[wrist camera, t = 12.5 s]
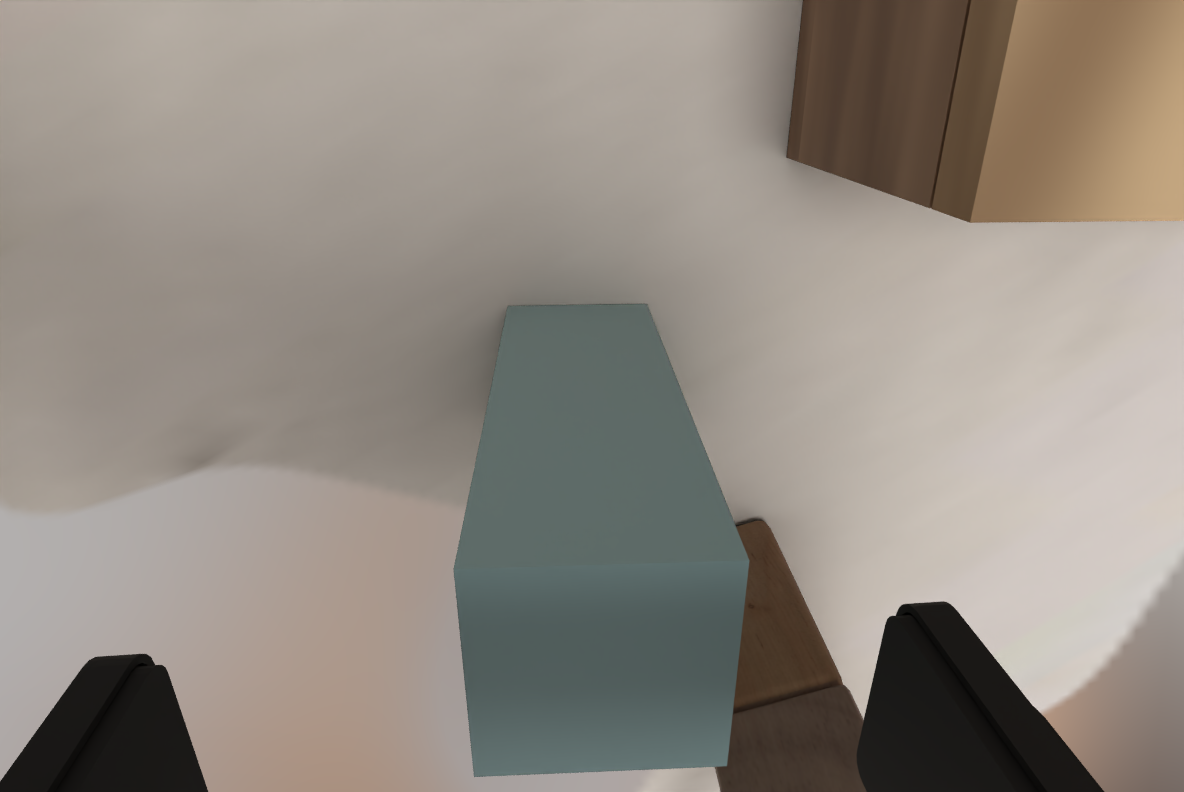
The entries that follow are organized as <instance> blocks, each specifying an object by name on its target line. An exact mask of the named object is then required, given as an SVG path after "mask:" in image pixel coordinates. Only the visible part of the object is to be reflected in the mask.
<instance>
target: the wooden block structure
mask: <svg viewBox="0 0 1184 792" xmlns="http://www.w3.org/2000/svg"><path fill="white" fill-rule="evenodd" d="M736 528H737V531H738V533H739V536H740V538H741V541H742V543H743V546H744V548H745V551H746V553H747V556H748V558H749V568H748V578H747V587H746V596H745V605H744V614H743V624H742V633H741V642H740V651H739V660H738V669H737V679H736V688H735V697H734V706H733V715H732V725H731V734H730V743H729V752H728V761H727V766H720V767H715V769H716V774H717V778H718V782H719V787H720V791H721V792H867V791H866V789H865V787H864V785H863V783H862V780H861V778H860V775H859V771H858V766H857V756H856V755H857V748H858V744H859V739H860V735H861V730H862V726H863V722H864V720H863V718H862V716H861V714H860V712H859V709H858V707H857V705H856V703H855V701H854V699H853V697H852V695H851V693H850V691H849V690H848V689H847V688H846V686H845V685H843V683H842V679H841V676H840V674H839V672H838V670H837V668H836V666H835V663H834V661H833V659H832V657H831V655H830V653H829V651H828V649H827V647H826V645H825V642H824V640H823V638H822V636H821V634H820V632H819V630H818V628H817V626H816V623H815V621H814V619H813V617H812V615H811V613H810V611H809V609H808V607H807V605H806V602H805V600H804V598H803V596H802V594H801V592H800V590H799V588H798V586H797V583H796V581H795V579H794V577H793V575H792V573H791V571H790V569H789V567H788V564H787V562H786V560H785V558H784V556H783V554H782V552H781V550H780V548H779V546H778V543H777V541H776V539H775V537H774V535H773V533H772V531H771V529H770V527H769V526H768V525H767V524H766V523H765V522H764V521H753V522H750V523H746V524H743V525H740V526H736Z"/></svg>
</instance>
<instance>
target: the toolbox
mask: <svg viewBox="0 0 1184 792" xmlns="http://www.w3.org/2000/svg"><path fill="white" fill-rule="evenodd" d="M970 4H971V0H803V7H802V17H801V26H800V36H799V45H798V54H797V64H796V73H795V83H794V92H793V102H792V111H791V121H790V130H789V140H788V149H787V158H789V159H792V160H795V161H798V162H801V163H803V164H806V165H809V166H812V167H815V168H818V169H820V170H823V171H826V172H829V173H832V174H834V175H837V176H840V177H843V178H846V179H849V180H851V181H854V182H857V183H860V184H863V185H866V186H868V187H871V188H874V189H877V190H880V191H882V192H885V193H888V194H891V195H894V196H897V197H899V198H902V199H905V200H908V201H911V202H914V203H916V204H919V205H922V206H925V207H928V208H932V204H933V199H934V194H935V188H936V183H937V178H938V173H939V167H940V162H941V157H942V152H943V146H944V141H945V136H946V131H947V125H948V120H949V115H950V110H951V104H952V99H953V94H954V88H955V83H956V78H957V73H958V67H959V62H960V57H961V52H962V46H963V41H964V36H965V31H966V25H967V20H968V15H969V9H970Z"/></svg>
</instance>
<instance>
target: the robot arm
mask: <svg viewBox="0 0 1184 792" xmlns="http://www.w3.org/2000/svg"><path fill="white" fill-rule="evenodd" d="M856 756H857V766H858V771H859V775H860V778H861V780H862V783H863V785H864V787H865V789H866V791H867V792H1104V791H1103V790H1102V788H1101V787H1100V786H1099V785H1098V783H1097V782H1096V781H1095V780H1094V778H1093V777H1092V776H1091V775H1090V773H1089V772H1088V771H1087V770H1086V768H1085V767H1084V766H1083V765H1082V764H1081V762H1080V761H1079V760H1078V759H1077V757H1076V756H1075V755H1074V753H1073V752H1072V751H1071V750H1070V749H1069V747H1068V746H1067V745H1066V743H1065V742H1064V741H1063V740H1062V738H1061V737H1060V736H1059V735H1058V733H1057V732H1056V731H1055V730H1054V728H1053V727H1052V726H1051V725H1050V723H1049V722H1048V721H1047V720H1046V718H1045V717H1044V716H1043V715H1042V714H1041V713H1040V712H1039V711H1038V710H1037V709H1036V708H1035V707H1034V706H1032V704H1031V703H1030V702H1029V701H1028V699H1027V698H1026V697H1025V696H1024V694H1023V693H1022V692H1021V691H1020V689H1019V688H1018V687H1017V686H1016V684H1015V683H1014V682H1013V681H1012V679H1011V678H1010V677H1009V676H1008V674H1007V673H1006V672H1005V670H1004V669H1003V668H1002V667H1001V665H1000V664H999V663H998V662H997V660H996V659H995V658H994V657H993V655H992V654H991V653H990V652H989V650H988V649H987V648H986V647H985V645H984V644H983V643H982V642H981V640H980V639H979V638H978V637H977V635H976V634H975V633H974V632H973V630H972V629H971V628H970V627H969V625H968V624H967V623H966V622H965V620H964V619H963V618H962V617H961V615H960V614H959V613H958V612H957V610H956V609H955V608H954V607H953V606H952V605H951V604H949V603H947V602H930V603H914V604H903V605H902V606H901V607H900V608H899V609H898V611H897V614H896V616H890V617H889V618H888V619H887V622H886V625H885V629H884V633H883V638H882V642H881V647H880V651H879V655H878V660H877V664H876V669H875V673H874V678H873V682H872V686H871V691H870V695H869V700H868V704H867V708H866V713H865V717H864V722H863V726H862V730H861V735H860V739H859V744H858V748H857V755H856ZM0 792H208V790H207V787H206V784H205V781H204V778H203V775H202V772H201V769H200V766H199V764H198V760H197V757H196V754H195V751H194V748H193V746H192V742H191V740H190V736H189V734H188V731H187V728H186V725H185V722H184V719H183V716H182V713H181V710H180V707H179V704H178V701H177V698H176V695H175V692H174V689H173V686H172V683H171V680H170V677H169V674H168V672H167V670H166V668H165V667H164V666H163V665H155V664H154V662H153V660H152V658H151V657H150V656H148V655H147V654H133V655H119V656H103V657H95V658H93V659H91V660H89V661H88V662H87V663H86V664H85V665H84V667H83V668H82V669H81V670H80V672H79V673H78V675H77V676H76V677H75V679H74V680H73V681H72V683H71V684H70V686H69V687H68V688H67V690H66V691H65V693H64V694H63V695H62V697H61V698H60V699H59V701H58V702H57V704H56V705H55V706H54V708H53V709H52V711H51V712H50V713H49V715H48V716H47V717H46V719H45V720H44V722H43V723H42V724H41V726H40V727H39V729H38V730H37V731H36V733H35V734H34V735H33V737H32V738H31V740H30V741H29V742H28V744H27V745H26V747H25V748H24V749H23V751H22V752H21V753H20V755H19V756H18V758H17V759H16V760H15V762H14V763H13V765H12V766H11V767H10V769H9V770H8V772H7V773H6V774H5V776H4V777H3V778H2V780H1V781H0Z"/></svg>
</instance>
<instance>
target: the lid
mask: <svg viewBox="0 0 1184 792" xmlns="http://www.w3.org/2000/svg"><path fill="white" fill-rule="evenodd" d="M932 209H933V210H936V211H939V212H942V213H945V214H947V215H950V216H953V217H956V218H959V219H962V220H964V221H967V222H970V223H974V222H1080V221H1184V0H971V4H970V9H969V15H968V20H967V25H966V31H965V36H964V41H963V46H962V52H961V57H960V62H959V67H958V73H957V78H956V83H955V88H954V94H953V99H952V104H951V110H950V115H949V120H948V125H947V131H946V136H945V141H944V146H943V152H942V157H941V162H940V167H939V173H938V178H937V183H936V188H935V194H934V199H933V204H932Z"/></svg>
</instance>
